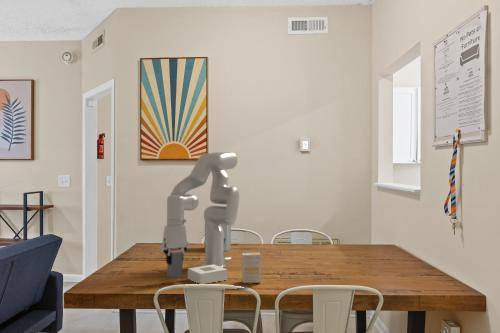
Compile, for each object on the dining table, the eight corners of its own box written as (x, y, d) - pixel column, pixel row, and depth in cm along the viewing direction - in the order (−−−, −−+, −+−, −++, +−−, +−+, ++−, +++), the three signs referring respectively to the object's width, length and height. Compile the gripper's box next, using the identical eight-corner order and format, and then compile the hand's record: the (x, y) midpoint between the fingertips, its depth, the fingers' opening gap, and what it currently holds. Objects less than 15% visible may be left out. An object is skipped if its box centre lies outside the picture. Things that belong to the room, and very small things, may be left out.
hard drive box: (204, 249, 255) (204, 218, 255) (208, 247, 262) (209, 216, 263) (227, 251, 251) (227, 219, 251) (231, 249, 258) (231, 217, 258)
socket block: (213, 274, 195) (213, 264, 195) (227, 280, 186) (227, 269, 186) (187, 279, 187) (187, 268, 187) (200, 285, 177) (200, 273, 177)
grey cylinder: (177, 274, 185) (177, 247, 185) (182, 276, 181) (182, 249, 181) (167, 275, 182) (167, 249, 182) (172, 278, 178) (172, 250, 178)
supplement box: (259, 280, 185) (260, 252, 185) (260, 283, 180) (260, 254, 180) (241, 281, 185) (242, 252, 185) (242, 284, 180) (242, 254, 180)
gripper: (188, 220, 190) (187, 259, 190) (154, 223, 180) (153, 264, 180) (196, 222, 184) (195, 262, 184) (161, 225, 174) (160, 267, 174)
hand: (174, 262), depth 182 cm, fingers closed on grey cylinder, 5 cm apart
